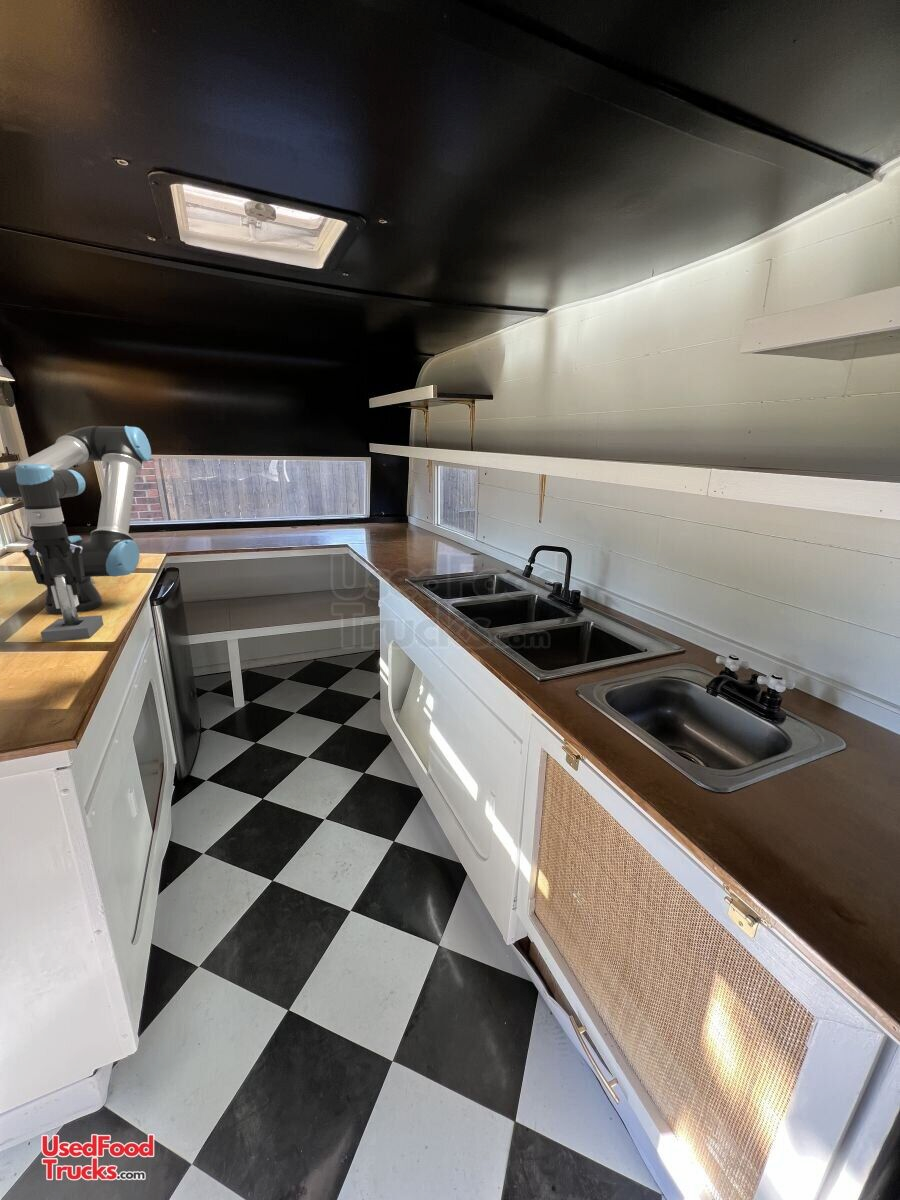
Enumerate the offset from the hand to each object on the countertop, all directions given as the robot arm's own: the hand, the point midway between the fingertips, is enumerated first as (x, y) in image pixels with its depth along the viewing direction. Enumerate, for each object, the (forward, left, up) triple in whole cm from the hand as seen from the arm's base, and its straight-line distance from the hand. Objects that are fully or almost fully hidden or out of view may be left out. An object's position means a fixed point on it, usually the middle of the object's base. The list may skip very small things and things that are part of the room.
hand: (67, 606), depth 137 cm
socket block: (0, 0, -8) cm, 8 cm away
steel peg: (0, 0, -5) cm, 5 cm away
